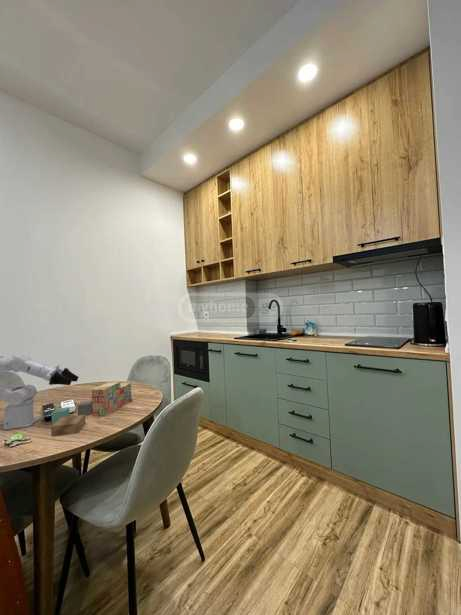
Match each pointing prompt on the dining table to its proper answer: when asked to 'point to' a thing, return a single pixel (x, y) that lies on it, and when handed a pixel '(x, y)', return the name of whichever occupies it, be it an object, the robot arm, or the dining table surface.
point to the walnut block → (68, 425)
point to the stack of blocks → (110, 397)
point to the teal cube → (60, 414)
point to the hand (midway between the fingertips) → (74, 380)
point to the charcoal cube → (85, 408)
